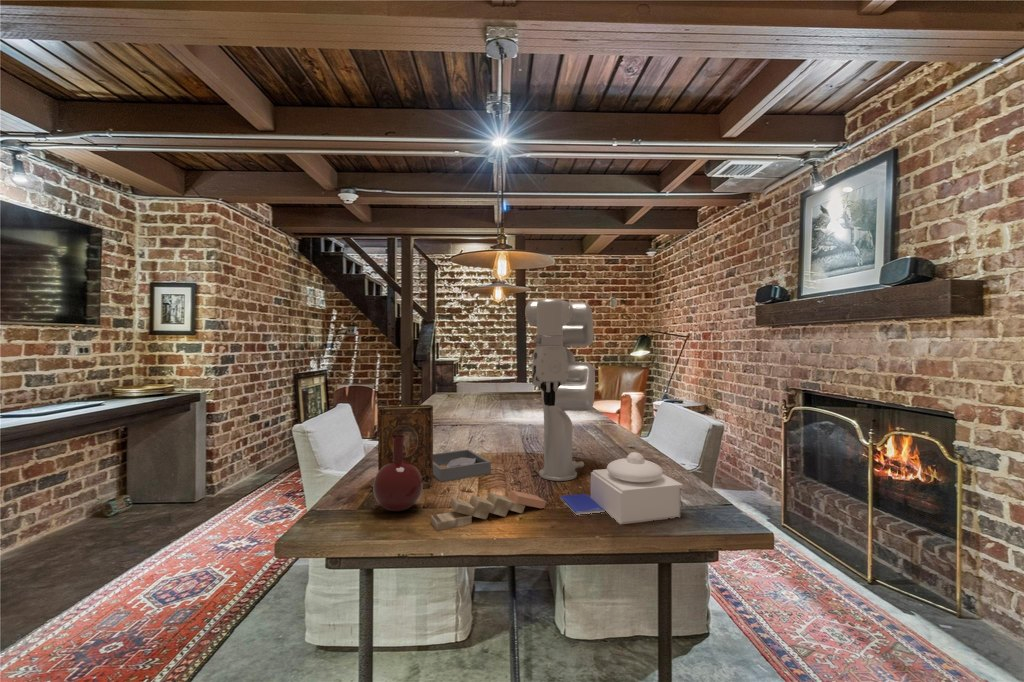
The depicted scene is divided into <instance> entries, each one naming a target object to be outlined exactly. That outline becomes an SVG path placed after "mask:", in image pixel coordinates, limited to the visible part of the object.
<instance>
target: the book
mask: <svg viewBox="0 0 1024 682" xmlns="http://www.w3.org/2000/svg"><path fill="white" fill-rule="evenodd" d="M377 415H378V418H377V419H378V421H377V424H378V425H377V426H378V428H377V430H378V433H377V436H378V440H377V444H378V445H377V446H378V448H377V449H378V452H377V453H378V455H377V456H378V459H377V463H378V464H377V466H378V469H377V470H378V471H379V470H380V469H381V468H382V467H383V466H384V465H386V464H388V463H390V462H392V461H393V438H392V437H393V436H396V435H402V436H404V438H403V461H407V462H410V463H412V464H413V465H414V466H416V467H417V469H418V470H419V471H420V473H421V476H422V479H423V488H426V489H431V488H430V487H432V486H434V476H433V454H434V405H431V404H420V405H419V404H418V405H415V404H414V405H411V404H410V405H388V406H386V405H385V406H380V407H379V410H378V414H377ZM378 471H377V472H378ZM432 488H433V487H432Z"/></svg>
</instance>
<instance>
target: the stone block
mask: <svg viewBox="0 0 1024 682" xmlns="http://www.w3.org/2000/svg"><path fill="white" fill-rule="evenodd" d="M475 463H476V458H474V459H472V458H458V459H454V460H451V461H450V462H449V463H448V464H446V466H445V468H448V467H455V466H461V465H468V464H475Z"/></svg>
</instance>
